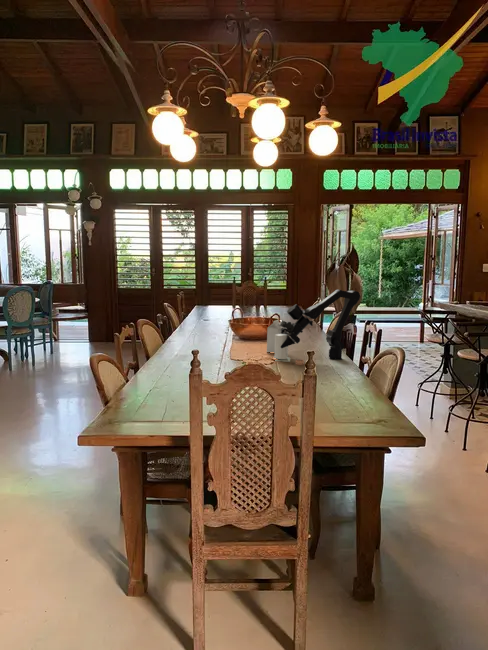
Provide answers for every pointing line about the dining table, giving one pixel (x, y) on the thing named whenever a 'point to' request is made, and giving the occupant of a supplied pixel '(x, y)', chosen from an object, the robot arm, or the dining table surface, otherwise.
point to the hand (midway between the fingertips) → (279, 346)
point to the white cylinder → (280, 352)
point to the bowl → (299, 361)
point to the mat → (284, 360)
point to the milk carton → (273, 335)
